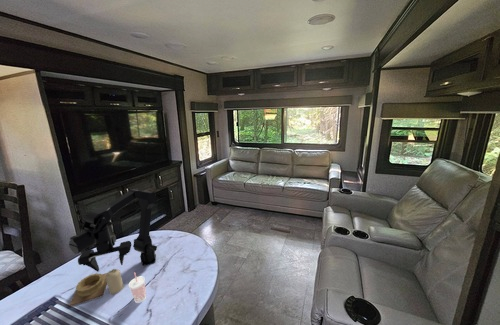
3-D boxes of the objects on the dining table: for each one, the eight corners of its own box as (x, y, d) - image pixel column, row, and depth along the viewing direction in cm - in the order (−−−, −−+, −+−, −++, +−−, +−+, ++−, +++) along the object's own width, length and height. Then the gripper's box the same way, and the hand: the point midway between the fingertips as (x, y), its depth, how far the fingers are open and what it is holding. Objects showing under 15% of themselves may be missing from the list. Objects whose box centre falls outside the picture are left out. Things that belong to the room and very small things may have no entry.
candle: (116, 295, 90) (111, 277, 88) (106, 293, 92) (101, 275, 89) (126, 284, 96) (122, 267, 93) (116, 283, 97) (112, 266, 94)
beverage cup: (141, 305, 85) (135, 279, 81) (129, 303, 86) (122, 277, 82) (151, 293, 91) (145, 267, 87) (139, 291, 92) (133, 266, 88)
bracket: (110, 273, 103) (108, 267, 101) (102, 296, 90) (100, 289, 89) (81, 281, 98) (79, 275, 97) (69, 306, 86) (67, 299, 85)
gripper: (130, 223, 97) (136, 250, 101) (83, 233, 90) (91, 261, 95) (125, 236, 87) (132, 266, 91) (72, 248, 80) (82, 279, 85)
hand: (110, 267), depth 91 cm, fingers open, 9 cm apart
